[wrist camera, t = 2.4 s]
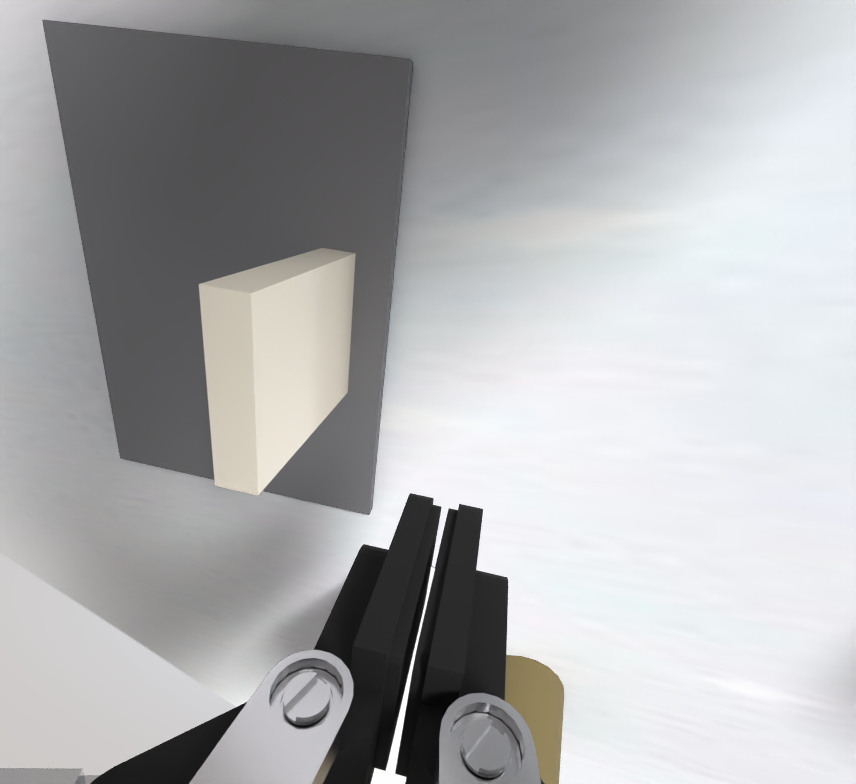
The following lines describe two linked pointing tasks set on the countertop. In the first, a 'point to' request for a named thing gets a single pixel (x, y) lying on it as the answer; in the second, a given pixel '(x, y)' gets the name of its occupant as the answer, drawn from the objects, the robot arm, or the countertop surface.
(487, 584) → the robot arm
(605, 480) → the countertop surface
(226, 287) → the tile
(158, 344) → the mat
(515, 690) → the cork
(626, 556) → the countertop surface
